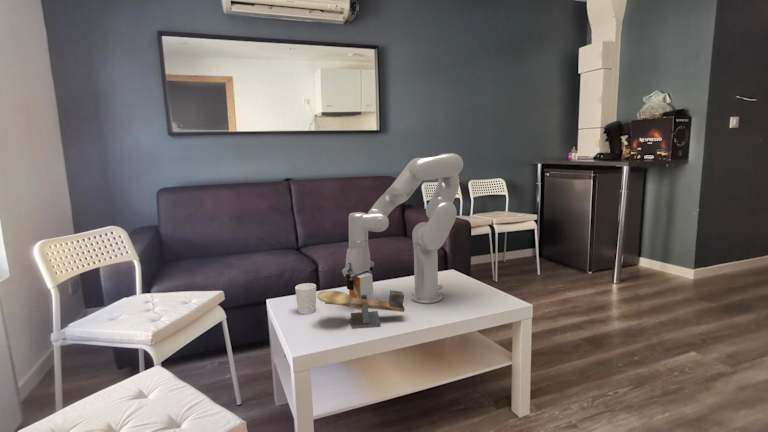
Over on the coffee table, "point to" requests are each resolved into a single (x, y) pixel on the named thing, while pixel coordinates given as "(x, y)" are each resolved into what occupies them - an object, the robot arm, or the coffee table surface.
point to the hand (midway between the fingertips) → (358, 286)
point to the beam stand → (365, 317)
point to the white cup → (306, 298)
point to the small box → (362, 286)
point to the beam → (363, 300)
